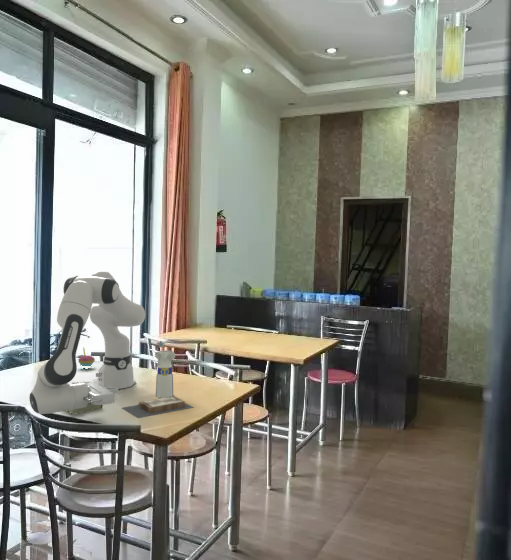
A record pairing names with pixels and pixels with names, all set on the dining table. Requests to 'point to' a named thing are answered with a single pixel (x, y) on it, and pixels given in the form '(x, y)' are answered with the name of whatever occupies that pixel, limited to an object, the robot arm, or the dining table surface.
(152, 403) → the board
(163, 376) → the grey tall piece
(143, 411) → the mat
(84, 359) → the cupcake
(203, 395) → the dining table surface
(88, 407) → the hardcover book
